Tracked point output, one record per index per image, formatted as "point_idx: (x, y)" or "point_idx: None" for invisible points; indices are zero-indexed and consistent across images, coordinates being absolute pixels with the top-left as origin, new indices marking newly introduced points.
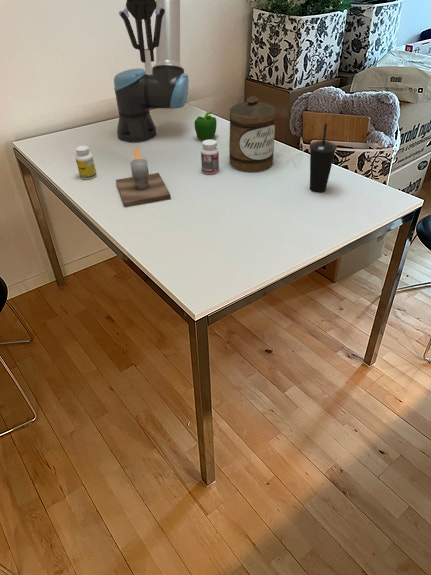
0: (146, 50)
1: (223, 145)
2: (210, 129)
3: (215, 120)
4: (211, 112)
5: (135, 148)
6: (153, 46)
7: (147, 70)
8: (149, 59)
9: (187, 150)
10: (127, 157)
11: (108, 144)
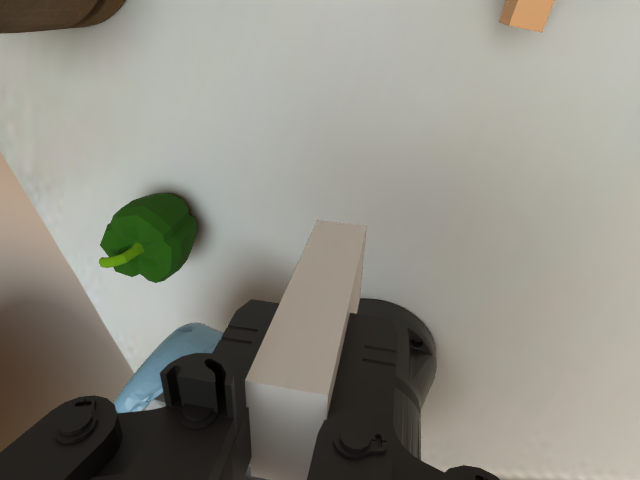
0: (291, 415)
1: (129, 141)
2: (139, 201)
3: (105, 231)
4: (100, 259)
5: (530, 27)
6: (154, 431)
7: (357, 245)
8: (297, 304)
9: (254, 163)
10: (470, 212)
11: (483, 336)
